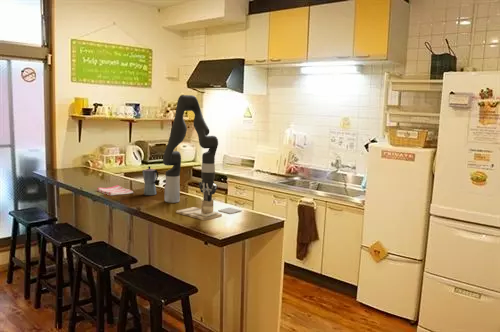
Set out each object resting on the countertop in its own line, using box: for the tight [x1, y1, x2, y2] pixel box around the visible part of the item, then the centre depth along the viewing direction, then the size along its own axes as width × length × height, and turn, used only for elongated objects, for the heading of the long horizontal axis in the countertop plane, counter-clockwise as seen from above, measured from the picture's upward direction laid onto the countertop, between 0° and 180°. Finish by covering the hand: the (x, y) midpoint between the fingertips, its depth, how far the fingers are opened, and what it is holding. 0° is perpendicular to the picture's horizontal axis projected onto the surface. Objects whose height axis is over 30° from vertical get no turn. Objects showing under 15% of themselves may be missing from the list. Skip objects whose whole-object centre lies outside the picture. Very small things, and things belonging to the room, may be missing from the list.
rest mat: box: [217, 207, 242, 215], centre depth 256 cm, size 10×10×1 cm
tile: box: [193, 211, 219, 216], centre depth 242 cm, size 11×9×1 cm
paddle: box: [200, 190, 214, 214], centre depth 240 cm, size 3×7×12 cm, turn 140°
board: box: [175, 206, 223, 221], centre depth 246 cm, size 24×14×1 cm, turn 50°
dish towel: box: [97, 184, 134, 197], centre depth 301 cm, size 17×23×4 cm
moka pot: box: [142, 165, 159, 196], centre depth 295 cm, size 10×15×20 cm, turn 59°
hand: (207, 200), depth 240 cm, fingers closed on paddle, 2 cm apart
